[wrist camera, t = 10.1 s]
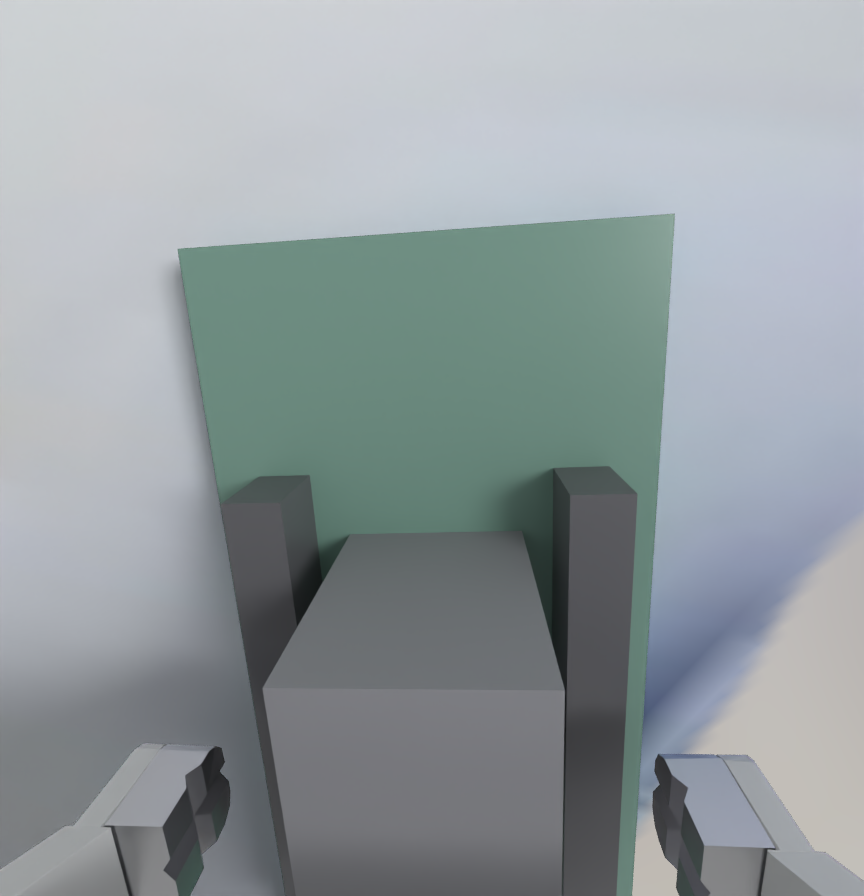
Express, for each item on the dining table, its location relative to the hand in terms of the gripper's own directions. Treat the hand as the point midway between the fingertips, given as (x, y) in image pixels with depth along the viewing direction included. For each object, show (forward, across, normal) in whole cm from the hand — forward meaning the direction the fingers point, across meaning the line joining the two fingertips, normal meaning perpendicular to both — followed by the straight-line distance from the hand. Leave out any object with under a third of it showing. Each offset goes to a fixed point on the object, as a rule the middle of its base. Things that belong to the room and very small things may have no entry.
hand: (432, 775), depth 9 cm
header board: (+4, 0, +2) cm, 5 cm away
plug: (+3, 0, 0) cm, 3 cm away
